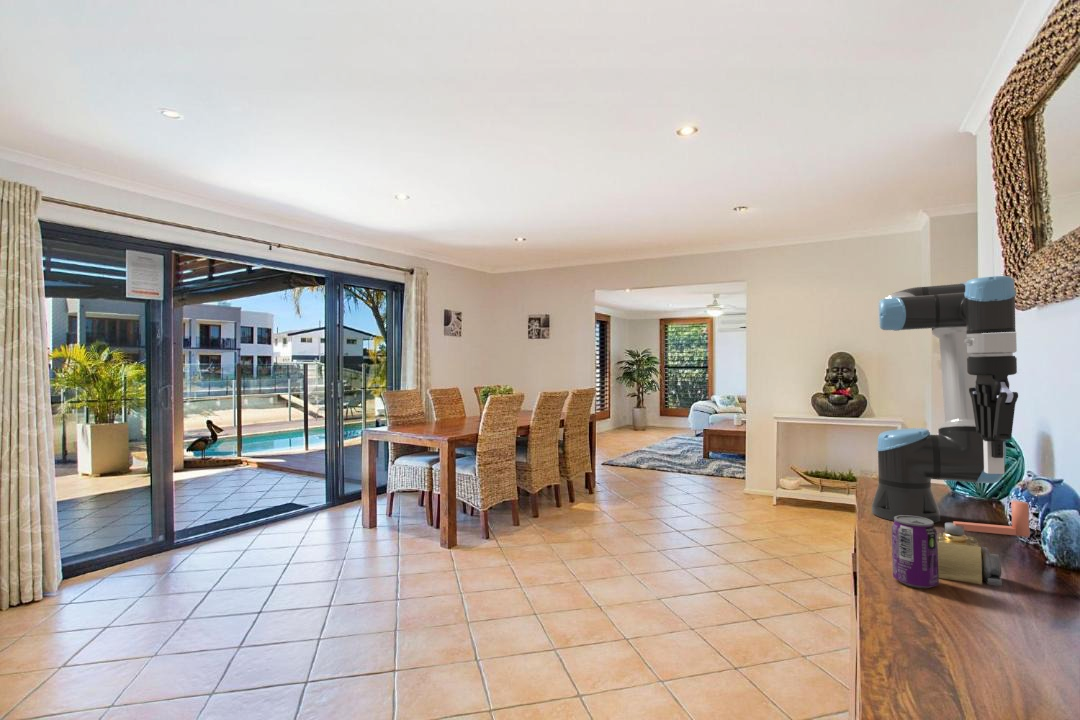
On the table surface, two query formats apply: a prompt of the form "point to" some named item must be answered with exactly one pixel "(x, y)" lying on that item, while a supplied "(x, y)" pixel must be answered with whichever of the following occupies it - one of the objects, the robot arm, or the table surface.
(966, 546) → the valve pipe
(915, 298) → the robot arm
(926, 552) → the beverage can
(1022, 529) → the lever
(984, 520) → the table surface
